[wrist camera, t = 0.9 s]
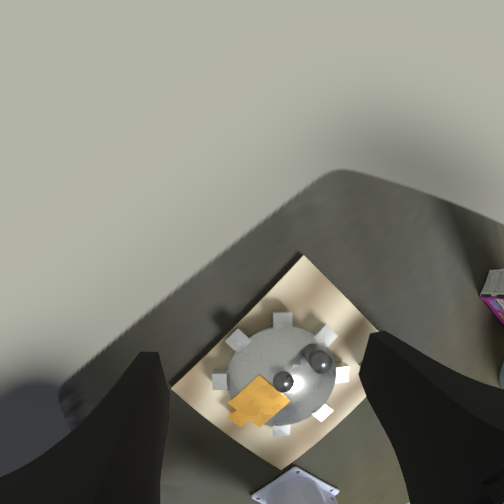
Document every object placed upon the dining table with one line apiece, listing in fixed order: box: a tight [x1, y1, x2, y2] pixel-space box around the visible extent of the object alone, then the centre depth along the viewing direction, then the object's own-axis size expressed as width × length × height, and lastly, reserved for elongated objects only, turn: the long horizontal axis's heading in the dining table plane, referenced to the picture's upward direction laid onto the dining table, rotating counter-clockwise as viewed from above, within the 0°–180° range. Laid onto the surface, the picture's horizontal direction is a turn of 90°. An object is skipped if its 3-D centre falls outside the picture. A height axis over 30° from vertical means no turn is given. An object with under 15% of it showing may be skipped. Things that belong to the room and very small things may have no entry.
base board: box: [171, 255, 379, 470], centre depth 28 cm, size 17×20×1 cm
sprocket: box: [212, 310, 349, 437], centre depth 25 cm, size 14×14×6 cm
